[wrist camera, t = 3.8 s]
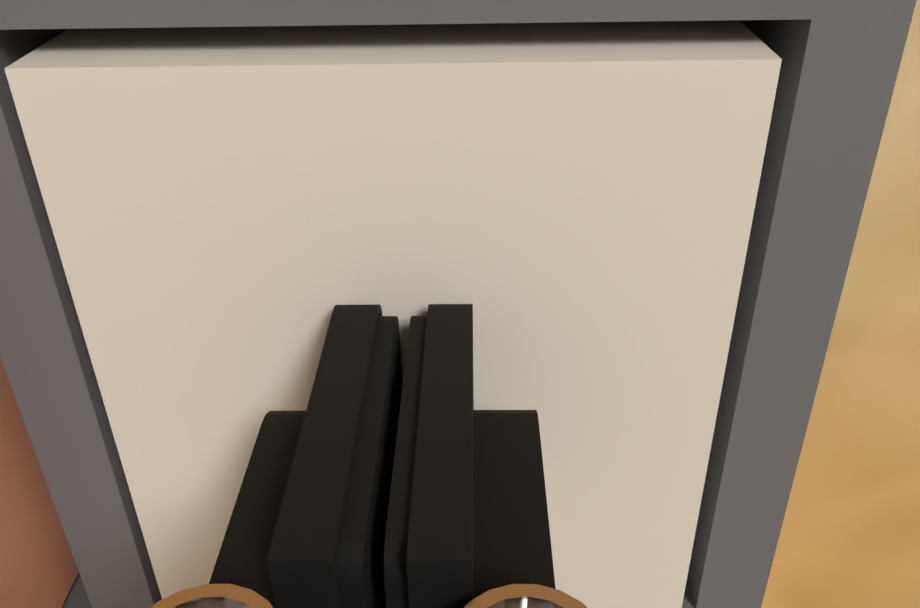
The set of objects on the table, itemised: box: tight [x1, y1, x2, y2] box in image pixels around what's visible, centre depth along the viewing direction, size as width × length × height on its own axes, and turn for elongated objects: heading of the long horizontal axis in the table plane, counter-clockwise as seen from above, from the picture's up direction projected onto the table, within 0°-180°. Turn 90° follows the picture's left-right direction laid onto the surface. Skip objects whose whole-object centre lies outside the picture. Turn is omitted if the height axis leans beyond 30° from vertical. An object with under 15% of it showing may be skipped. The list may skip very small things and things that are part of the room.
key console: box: [0, 0, 916, 608], centre depth 13 cm, size 11×20×4 cm, turn 91°
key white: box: [4, 20, 782, 608], centre depth 12 cm, size 8×8×2 cm
